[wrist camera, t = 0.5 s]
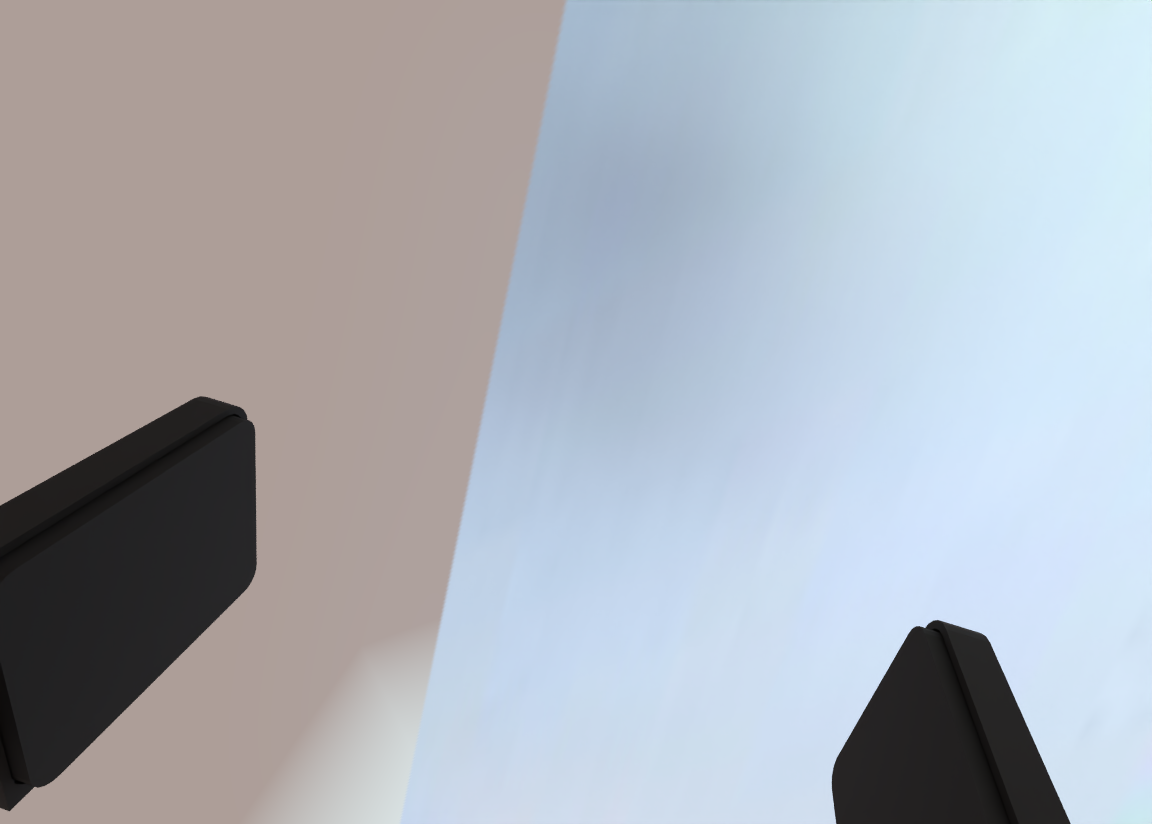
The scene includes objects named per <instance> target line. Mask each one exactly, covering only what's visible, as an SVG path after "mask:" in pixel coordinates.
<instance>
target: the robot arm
mask: <svg viewBox="0 0 1152 824" xmlns="http://www.w3.org/2000/svg"><path fill="white" fill-rule="evenodd" d="M255 470H256V468H255V428H254V425H253V423H252V422H250V421H249V420H247V415H246V413H245V412H244V410H243V409H242V408H240V407H237V406H234V405H231V404H228V403H224V402H221V401H218V400H215V399H211V398H208V397H197V398H194V399H192V400H190V401H189V402H187V403H185V404H183V405H181V406H180V407H178V408H176V409H174V410H172V411H171V412H169V413H167V414H165V415H163V416H162V417H160V418H158V419H156V420H154V421H152V422H151V423H149V424H147V425H145V426H143V427H142V428H140V429H138V430H136V431H135V432H133V433H131V434H129V435H127V436H125V437H124V438H122V439H120V440H118V441H116V442H115V443H113V444H111V445H109V446H107V447H106V448H104V449H102V450H100V451H98V452H96V453H95V454H93V455H91V456H89V457H87V458H86V459H84V460H82V461H80V462H79V463H77V464H75V465H73V466H71V467H69V468H67V469H66V470H64V471H62V472H60V473H58V474H57V475H55V476H53V477H51V478H49V479H48V480H46V481H44V482H42V483H40V484H39V485H37V486H35V487H33V488H31V489H30V490H28V491H26V492H24V493H22V494H21V495H19V496H17V497H15V498H13V499H11V500H10V501H8V502H6V503H4V504H2V505H1V506H0V808H2V809H5V810H8V811H10V810H11V809H12V808H13V807H14V806H15V805H16V804H17V803H18V802H19V801H20V800H21V799H22V798H23V797H25V795H26V794H28V793H29V792H30V791H31V790H32V789H33V788H34V787H42V786H45V785H47V784H49V783H50V782H52V781H53V780H54V779H55V778H57V777H58V776H59V775H60V774H61V773H62V772H63V771H64V770H65V769H66V768H67V767H68V766H69V765H70V764H71V763H72V762H73V761H74V760H75V759H76V758H77V757H78V756H79V755H80V754H81V753H82V752H83V751H84V750H85V749H86V748H87V747H88V746H89V745H90V744H91V743H92V742H93V741H94V740H95V739H96V738H97V737H98V736H99V735H100V734H101V733H102V732H103V731H104V730H105V729H106V728H107V727H108V726H109V725H110V724H111V723H112V722H113V721H114V720H115V719H116V718H117V717H118V716H119V715H120V714H122V712H123V711H124V710H126V708H128V707H129V705H131V704H132V702H134V701H135V700H136V699H137V698H138V697H139V695H141V694H142V693H143V692H144V691H145V690H146V689H147V688H148V686H150V685H151V684H152V683H153V682H154V681H155V680H156V679H157V678H158V677H159V676H160V675H161V674H162V673H163V672H164V671H165V670H166V669H167V668H168V667H169V666H170V665H171V664H172V663H173V662H174V661H175V660H176V659H177V658H178V657H179V656H180V655H181V654H182V653H183V652H184V651H185V650H186V649H187V648H188V647H189V646H190V645H191V644H192V643H193V642H194V641H195V640H196V639H197V638H198V637H199V636H200V635H201V634H202V633H203V632H204V631H205V630H206V629H207V628H208V627H209V626H210V625H211V624H212V623H213V622H214V621H215V620H216V619H217V618H218V617H219V616H220V615H221V614H222V613H223V612H224V611H225V610H226V609H227V608H228V607H229V606H230V605H231V604H232V603H233V602H234V601H235V600H236V599H237V598H238V597H239V596H240V595H241V594H242V593H243V592H244V591H245V590H246V589H247V588H248V586H249V585H250V583H251V581H252V579H253V577H254V575H255V571H256V564H257V562H256V471H255ZM832 793H833V801H834V809H835V817H836V824H1070V821H1069V819H1068V817H1067V815H1066V812H1065V810H1064V808H1063V806H1062V803H1061V801H1060V799H1059V797H1058V794H1057V792H1056V790H1055V788H1054V785H1053V783H1052V781H1051V779H1050V776H1049V774H1048V772H1047V770H1046V767H1045V765H1044V763H1043V761H1042V758H1041V756H1040V754H1039V752H1038V750H1037V747H1036V745H1035V743H1034V741H1033V738H1032V736H1031V734H1030V732H1029V729H1028V727H1027V725H1026V723H1025V720H1024V718H1023V716H1022V714H1021V711H1020V709H1019V707H1018V705H1017V702H1016V700H1015V698H1014V696H1013V693H1012V691H1011V689H1010V687H1009V684H1008V682H1007V680H1006V678H1005V675H1004V673H1003V671H1002V669H1001V666H1000V664H999V662H998V660H997V657H996V655H995V653H994V651H993V648H992V646H991V644H990V642H989V640H988V639H987V637H986V636H985V635H983V634H981V633H978V632H975V631H972V630H969V629H965V628H962V627H959V626H956V625H952V624H949V623H946V622H942V621H939V620H935V621H932V622H931V623H929V624H928V625H927V627H926V628H923V627H920V626H916V627H914V628H913V629H912V630H911V631H910V633H909V634H908V636H907V638H906V639H905V641H904V643H903V644H902V646H901V648H900V650H899V651H898V653H897V655H896V657H895V658H894V660H893V662H892V664H891V665H890V667H889V669H888V670H887V672H886V674H885V676H884V677H883V679H882V681H881V683H880V684H879V686H878V688H877V689H876V691H875V693H874V695H873V696H872V698H871V700H870V702H869V703H868V705H867V707H866V709H865V710H864V712H863V714H862V715H861V717H860V719H859V721H858V722H857V724H856V726H855V728H854V729H853V731H852V733H851V735H850V736H849V738H848V740H847V741H846V743H845V745H844V747H843V748H842V750H841V752H840V754H839V755H838V757H837V759H836V762H835V765H834V768H833V774H832Z"/></svg>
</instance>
